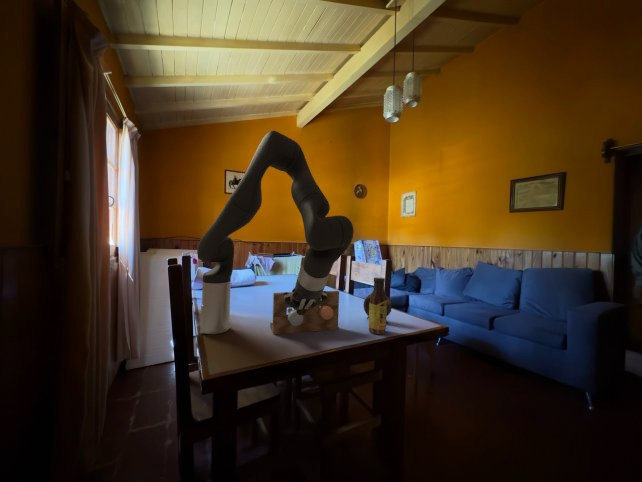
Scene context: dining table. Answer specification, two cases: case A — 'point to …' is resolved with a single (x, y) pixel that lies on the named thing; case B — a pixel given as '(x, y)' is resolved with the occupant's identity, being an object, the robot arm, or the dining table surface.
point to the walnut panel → (304, 315)
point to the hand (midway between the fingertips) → (300, 312)
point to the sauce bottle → (378, 307)
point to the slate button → (294, 317)
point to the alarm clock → (367, 303)
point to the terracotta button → (326, 312)
